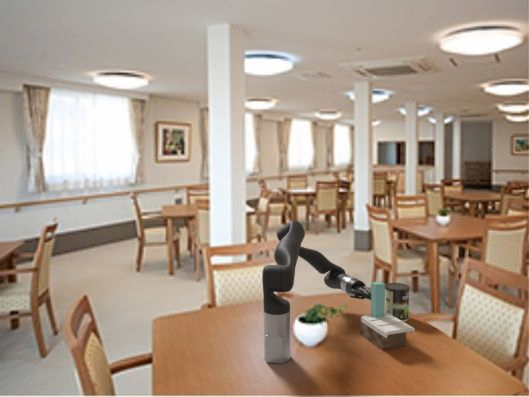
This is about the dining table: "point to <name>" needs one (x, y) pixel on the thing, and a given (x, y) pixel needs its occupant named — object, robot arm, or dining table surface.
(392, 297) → the coffee can
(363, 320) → the lid
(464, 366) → the dining table surface
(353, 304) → the dining table surface
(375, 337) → the tub
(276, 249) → the robot arm
